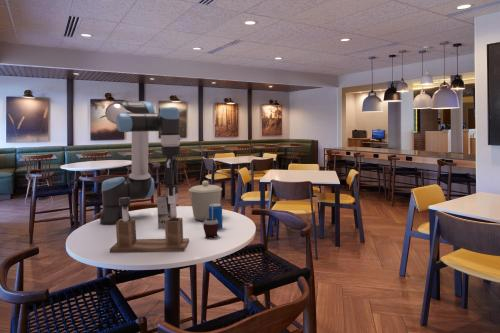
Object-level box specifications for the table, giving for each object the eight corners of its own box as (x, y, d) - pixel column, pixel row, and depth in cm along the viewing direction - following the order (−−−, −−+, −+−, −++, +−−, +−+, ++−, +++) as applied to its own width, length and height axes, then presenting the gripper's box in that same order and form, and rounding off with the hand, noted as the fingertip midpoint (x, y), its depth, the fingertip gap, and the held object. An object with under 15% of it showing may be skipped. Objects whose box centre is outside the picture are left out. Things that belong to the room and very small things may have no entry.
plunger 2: (170, 227, 148) (168, 184, 146) (180, 227, 148) (178, 184, 146) (167, 231, 144) (165, 186, 142) (178, 230, 144) (176, 186, 142)
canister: (187, 216, 197) (186, 179, 195) (218, 213, 203) (217, 177, 201) (192, 224, 180) (191, 184, 178) (226, 221, 186) (225, 182, 184)
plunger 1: (123, 240, 149) (121, 197, 147) (133, 239, 149) (131, 196, 147) (119, 243, 144) (117, 199, 142) (130, 243, 144) (128, 199, 142)
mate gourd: (208, 240, 155) (207, 206, 153) (200, 236, 161) (198, 204, 159) (222, 236, 159) (222, 204, 157) (214, 232, 165) (213, 201, 164)
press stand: (120, 242, 153) (118, 217, 151) (189, 241, 153) (188, 215, 152) (109, 252, 141) (108, 224, 140) (184, 251, 141) (183, 223, 140)
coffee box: (169, 229, 173) (168, 197, 171) (157, 228, 174) (156, 196, 172) (177, 224, 181) (176, 193, 180) (165, 223, 183) (164, 193, 181)
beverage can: (210, 226, 175) (210, 203, 174) (223, 227, 175) (222, 203, 173) (208, 230, 169) (207, 206, 168) (221, 230, 168) (220, 206, 167)
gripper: (175, 146, 134) (178, 206, 136) (183, 144, 151) (185, 197, 154) (156, 146, 134) (158, 206, 136) (166, 144, 151) (168, 198, 153)
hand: (173, 201), depth 145 cm, fingers closed on plunger 2, 4 cm apart
